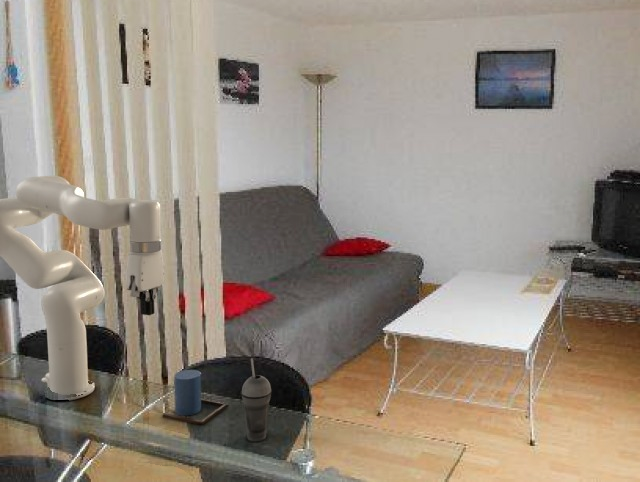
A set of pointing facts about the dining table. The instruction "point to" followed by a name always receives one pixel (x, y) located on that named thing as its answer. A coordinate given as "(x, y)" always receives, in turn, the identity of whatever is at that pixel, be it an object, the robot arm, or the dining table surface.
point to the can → (187, 392)
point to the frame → (194, 421)
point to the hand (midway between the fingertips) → (147, 313)
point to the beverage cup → (256, 405)
